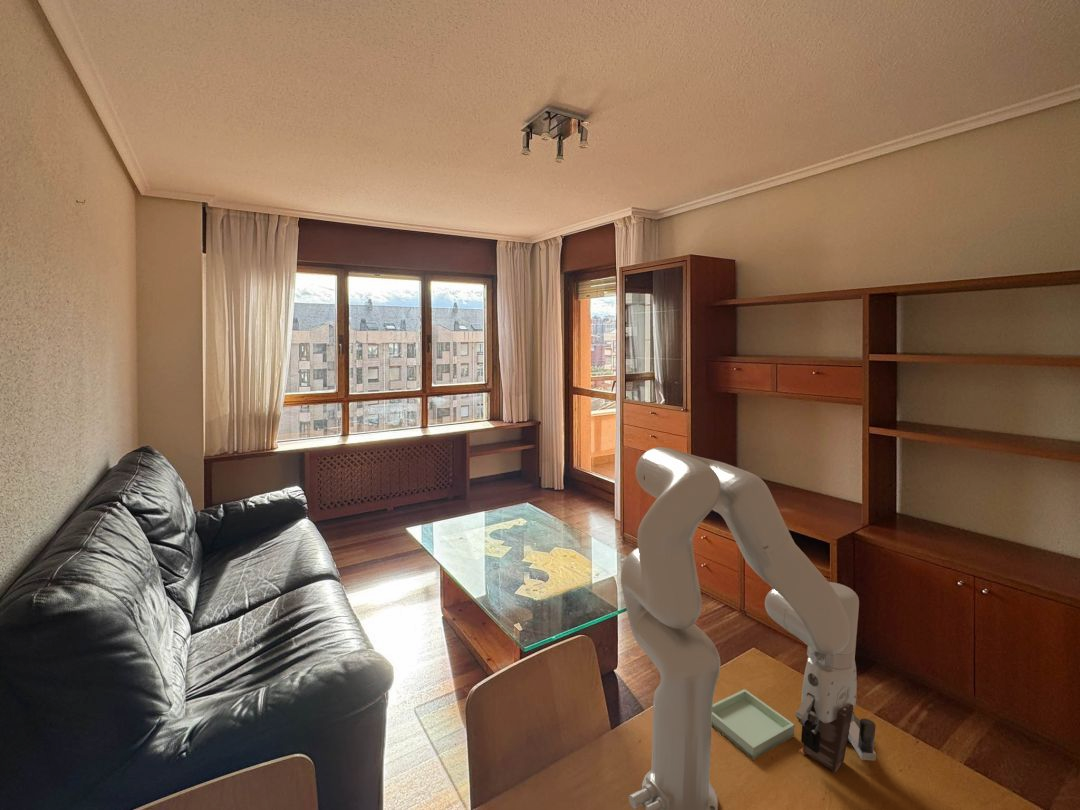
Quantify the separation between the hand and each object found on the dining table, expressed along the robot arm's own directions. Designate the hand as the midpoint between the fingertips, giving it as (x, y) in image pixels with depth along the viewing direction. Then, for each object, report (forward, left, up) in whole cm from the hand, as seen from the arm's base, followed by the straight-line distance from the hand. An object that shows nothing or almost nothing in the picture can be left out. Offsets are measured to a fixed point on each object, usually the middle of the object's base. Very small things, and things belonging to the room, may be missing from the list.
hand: (824, 738), depth 97 cm
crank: (+8, -1, -2) cm, 8 cm away
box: (0, 0, -4) cm, 4 cm away
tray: (-6, +12, -4) cm, 14 cm away
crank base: (+5, +3, -4) cm, 7 cm away
